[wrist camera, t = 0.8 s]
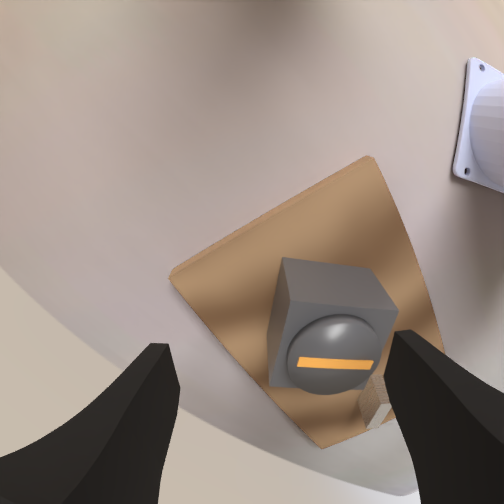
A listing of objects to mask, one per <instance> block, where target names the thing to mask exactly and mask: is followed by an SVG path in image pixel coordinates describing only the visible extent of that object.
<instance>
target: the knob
mask: <svg viewBox="0 0 504 504" xmlns="http://www.w3.org/2000/svg"><path fill="white" fill-rule="evenodd" d="M398 313H399V309H398V308H397V306H396V305H395V304H394V302H393V301H392V299H391V298H390V296H389V295H388V293H387V292H386V290H385V289H384V287H383V286H382V285H381V283H380V282H379V280H378V279H377V277H376V276H375V275H374V273H373V272H372V270H371V269H370V268H363V267H355V266H347V265H340V264H332V263H325V262H317V261H309V260H302V259H294V258H287V257H282V260H281V265H280V270H279V275H278V280H277V285H276V290H275V295H274V300H273V305H272V310H271V315H270V320H269V324H268V329H267V352H268V371H269V386H272V387H286V388H300V389H302V390H303V391H306V392H308V393H312V394H316V395H333V394H339V393H342V392H346V391H348V390H364V388H365V386H366V384H367V382H368V380H369V378H370V376H371V375H372V374H373V372H374V371H375V370H376V368H377V366H378V364H379V362H380V359H381V353H382V350H383V348H384V346H385V344H386V341H387V339H388V337H389V334H390V332H391V330H392V327H393V325H394V323H395V320H396V318H397V315H398Z"/></svg>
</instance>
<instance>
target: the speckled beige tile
mask: <svg viewBox="0 0 504 504" xmlns="http://www.w3.org/2000/svg"><path fill="white" fill-rule="evenodd" d="M357 401H358V404H359V407H360V411H361V414H362V417H363V420H364V424H365V427H366V429H371V428H378V427H379V426H380V424H381V423H382V421H383V420H384V418H385V417H386V415H387V414H388V412H389V410H390V409H391V407H392V406H391V404H390V401H389V397H388V394H387V390H386V386H385V382H384V379H383V376H382V374H372V375H371V376H370V378H369V380H368V382H367V384H366V386H365V388H364V390H362V391H361V393H360V395H359V397H358V399H357Z"/></svg>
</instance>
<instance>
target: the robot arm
mask: <svg viewBox="0 0 504 504" xmlns="http://www.w3.org/2000/svg"><path fill="white" fill-rule="evenodd" d="M479 65H480V66H481V70H480V68H479ZM465 168H467V173H466V174H465V173H464V170H465ZM453 173H454V174H455V175H456V176H457V177H460V178H463V179H466V180H469V181H472V182H475V183H477V184H480V185H483V186H486V187H488V188H491V189H494V190H496V191H499V192H501V193H504V74H503V73H501V72H500V71H498V70H497V69H495V68H493V67H492V66H490V65H488V64H486V63H485V62H483V61H481V60H479V59H478V58H475V57H472V58H469V59H468V62H467V76H466V86H465V96H464V104H463V111H462V118H461V125H460V131H459V137H458V143H457V148H456V154H455V159H454V163H453ZM383 378H384V382H385V386H386V390H387V394H388V397H389V401H390V404H391V406H392V409H393V411H394V414H395V416H396V419H397V422H398V424H399V426H400V429H401V431H402V434H403V437H404V439H405V442H406V444H407V447H408V449H409V452H410V455H411V458H412V461H413V465H414V469H415V474H416V478H417V483H418V488H419V494H420V500H421V504H504V393H502V392H500V391H499V390H497V389H495V388H493V387H491V386H490V385H488V384H486V383H485V382H483V381H482V380H480V379H479V378H477V377H476V376H474V375H473V374H471V373H470V372H468V371H467V370H465V369H464V368H462V367H461V366H460V365H458V364H457V363H456V362H454V361H453V360H452V359H450V358H449V357H448V356H446V355H445V354H444V353H442V352H441V351H440V350H438V349H437V348H436V347H434V346H433V345H432V344H431V343H429V342H428V341H427V340H425V339H424V338H423V337H421V336H420V335H419V334H417V333H416V332H414V331H413V330H411V329H409V330H401V331H395V332H394V336H393V340H392V344H391V349H390V353H389V356H388V360H387V364H386V368H385V372H384V375H383ZM179 395H180V385H179V382H178V378H177V374H176V371H175V367H174V363H173V359H172V356H171V352H170V348H169V344H163V343H150V344H149V345H148V346H147V347H146V348H145V349H144V350H143V351H142V353H141V354H140V355H139V356H138V357H137V358H136V359H135V360H134V361H133V362H132V363H131V364H130V365H129V366H128V367H127V368H126V369H125V371H124V372H123V373H122V374H121V375H120V376H119V377H118V378H117V379H116V380H115V381H114V382H113V383H112V384H111V385H110V386H109V387H108V388H107V389H105V391H104V392H102V393H101V394H100V395H99V396H98V397H97V398H96V399H95V400H94V401H93V402H91V403H90V404H89V405H88V406H87V407H86V408H84V409H83V410H82V411H81V412H79V413H78V414H77V415H76V416H74V417H73V418H71V419H70V420H69V421H67V422H66V423H65V424H63V425H62V426H60V427H59V428H57V429H55V430H54V431H52V432H51V433H49V434H47V435H46V436H44V437H42V438H41V439H39V440H37V441H36V442H34V443H32V444H30V445H28V446H26V447H24V448H22V449H20V450H17V451H15V452H13V453H10V454H8V455H5V456H3V457H0V504H158V497H159V489H160V481H161V475H162V470H163V466H164V462H165V458H166V455H167V450H168V447H169V443H170V439H171V435H172V432H173V428H174V424H175V420H176V416H177V410H178V403H179Z"/></svg>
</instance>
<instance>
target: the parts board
mask: <svg viewBox="0 0 504 504" xmlns="http://www.w3.org/2000/svg"><path fill="white" fill-rule="evenodd" d="M282 257H287V258H294V259H302V260H309V261H317V262H325V263H332V264H340V265H347V266H355V267H363V268H370V269H371V270H372V272H373V273H374V275H375V276H376V277H377V279H378V280H379V282H380V283H381V285H382V286H383V287H384V289H385V290H386V292H387V293H388V295H389V296H390V298H391V299H392V301H393V302H394V304H395V305H396V306H397V308H398V309H399V313H398V315H397V318H396V320H395V323H394V325H393V327H392V330H391V332H390V334H389V337H388V339H387V341H386V344H385V346H384V348H383V350H382V353H381V359H380V362H379V364H378V366H377V368H376V370H375V371H374V372H373V374H382V376H383V375H384V372H385V368H386V364H387V360H388V356H389V353H390V349H391V344H392V340H393V336H394V332H395V331H401V330H409V329H411V330H413V331H414V332H416V333H417V334H419V335H420V336H421V337H423V338H424V339H425V340H427V341H428V342H429V343H431V344H432V345H433V346H434V347H436V348H437V349H438V350H440V351H441V352H442V353H444V354H445V351H444V347H443V343H442V339H441V336H440V332H439V328H438V324H437V321H436V317H435V314H434V310H433V307H432V304H431V300H430V297H429V294H428V291H427V288H426V285H425V281H424V278H423V275H422V273H421V270H420V267H419V264H418V261H417V258H416V255H415V253H414V250H413V247H412V245H411V242H410V239H409V237H408V234H407V232H406V229H405V227H404V224H403V222H402V219H401V217H400V214H399V212H398V209H397V207H396V205H395V202H394V200H393V198H392V195H391V193H390V191H389V189H388V187H387V184H386V182H385V180H384V178H383V176H382V173H381V171H380V169H379V167H378V165H377V163H376V161H375V159H374V158H372V157H370V156H365V157H363V158H361V159H359V160H358V161H356V162H354V163H352V164H350V165H349V166H347V167H345V168H343V169H342V170H340V171H338V172H336V173H335V174H333V175H331V176H329V177H328V178H326V179H324V180H322V181H321V182H319V183H317V184H315V185H314V186H312V187H310V188H308V189H307V190H305V191H303V192H301V193H300V194H298V195H296V196H294V197H293V198H291V199H289V200H288V201H286V202H284V203H282V204H281V205H279V206H277V207H276V208H274V209H272V210H270V211H269V212H267V213H265V214H264V215H262V216H260V217H259V218H257V219H255V220H253V221H252V222H250V223H248V224H247V225H245V226H243V227H242V228H240V229H238V230H237V231H235V232H233V233H232V234H230V235H228V236H227V237H225V238H223V239H222V240H220V241H218V242H217V243H215V244H213V245H212V246H210V247H208V248H207V249H205V250H203V251H202V252H200V253H198V254H197V255H195V256H193V257H192V258H190V259H189V260H187V261H185V262H184V263H182V264H180V265H179V266H177V267H176V268H174V269H173V270H172V272H171V274H170V276H169V278H168V279H169V280H170V281H171V283H172V284H173V285H174V286H175V288H176V289H177V290H178V291H179V293H180V294H181V295H182V296H183V298H184V299H185V300H186V301H187V303H188V304H189V305H190V306H191V308H192V309H193V310H194V311H195V312H196V314H197V315H198V316H199V317H200V318H201V320H202V321H203V322H204V323H205V324H206V326H207V327H208V328H209V329H210V330H211V332H212V333H213V334H214V335H215V336H216V337H217V339H218V340H219V341H220V342H221V343H222V344H223V346H224V347H225V348H226V349H227V350H228V351H229V352H230V354H231V355H232V356H233V357H234V358H235V359H236V360H237V362H238V363H239V364H240V365H241V366H242V367H243V368H244V369H245V370H246V372H247V373H248V374H249V375H250V376H251V377H252V378H253V379H254V380H255V381H256V383H257V384H258V385H259V386H260V387H261V388H262V389H263V390H264V391H265V392H266V393H267V394H268V395H269V397H270V398H271V399H272V400H273V401H274V402H275V403H276V404H277V405H278V406H279V407H280V408H281V409H282V410H283V411H284V412H285V413H286V414H287V415H288V416H289V417H290V418H291V419H292V420H293V421H294V422H295V423H296V424H297V425H298V427H299V428H300V429H301V430H302V431H303V432H304V433H305V434H307V435H308V436H309V437H310V438H311V439H312V440H313V441H314V442H315V443H316V444H317V445H318V446H319V447H320V448H321V449H324V448H327V447H329V446H332V445H335V444H337V443H340V442H342V441H345V440H347V439H349V438H352V437H354V436H357V435H359V434H361V433H364V432H366V431H368V430H370V429H366V427H365V424H364V420H363V417H362V414H361V411H360V407H359V404H358V401H357V399H358V397H359V395H360V393H361V391H362V390H348V391H346V392H342V393H339V394H333V395H316V394H312V393H308V392H306V391H303V390H302V389H300V388H286V387H272V386H269V371H268V352H267V329H268V324H269V320H270V315H271V310H272V305H273V300H274V295H275V290H276V285H277V280H278V275H279V270H280V265H281V260H282ZM383 379H384V378H383ZM394 418H396V416H395V414H394V411H393V409H392V407H391V409H390V410H389V412H388V414H387V415H386V417H385V418H384V420H383V421H382V423H381V424H383V423H385V422H387V421H389V420H391V419H394ZM381 424H380V425H381ZM371 429H372V428H371Z"/></svg>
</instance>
